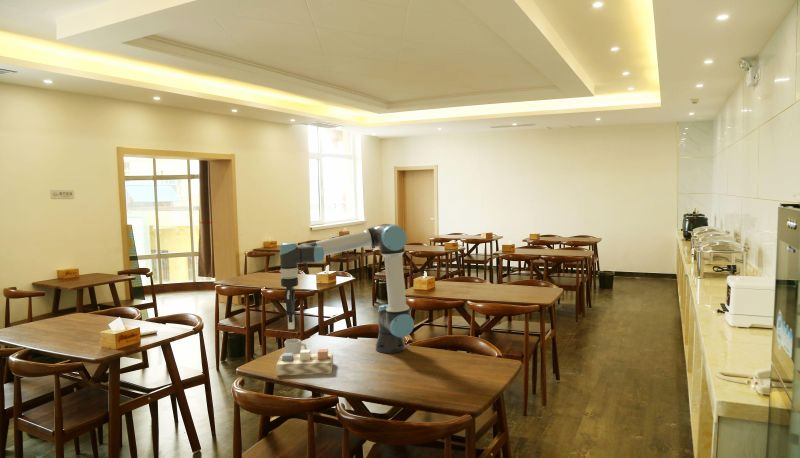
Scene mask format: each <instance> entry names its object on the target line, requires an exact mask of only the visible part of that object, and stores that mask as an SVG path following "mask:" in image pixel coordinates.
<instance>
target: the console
mask: <svg viewBox="0 0 800 458" xmlns="http://www.w3.org/2000/svg"><path fill="white" fill-rule="evenodd" d="M282 355H283V354H280V356H279V358H278V360H277V362H276V365H275V366H276V367H275V369H276V371H275V372H276V376H277V377H278V376H294V375H295V376H297V375H299V376H300V375H303V376H305V375H325V374H326V375H328V374H332V373H333V366H334V353H333V352H328V359H327V360H318V353H311V360H300V354H293V361H282Z"/></svg>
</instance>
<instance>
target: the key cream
mask: <svg viewBox="0 0 800 458" xmlns="http://www.w3.org/2000/svg"><path fill="white" fill-rule="evenodd" d="M311 354H312V353H311V349H310V348H309V349H306V350H304V349H301V351H300V360H311Z"/></svg>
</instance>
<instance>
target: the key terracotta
mask: <svg viewBox="0 0 800 458" xmlns="http://www.w3.org/2000/svg"><path fill="white" fill-rule="evenodd" d="M328 353H329V348H319V349H318V351H317V354H318V360H327V359H328Z"/></svg>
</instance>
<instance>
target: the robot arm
mask: <svg viewBox="0 0 800 458" xmlns="http://www.w3.org/2000/svg"><path fill="white" fill-rule="evenodd" d="M407 238H408V237H407V234H406V231H405V230H404V229H403V228H402V227H401V226H399V225H396V224H389V223H382V224H379V225H376V226H372V227H369V228H368V227H367V228H365V230H364V231H360V232H359V231H358V232H354V233H349V234H346V235H342V236H337V237H331V238H327V239H323V240H317V241H313V242H309V243H307V242H304V243H301V244H299V246H298V245H297V243H296V242H284V243H281V244H280V245H279V262H280V270H279V273H280V277H281V278H280V285H281V287H283V288H286V289H285V291H284V298H285V308H286V313H285V316H287V330H295V326H296V325H295V314H296V313H297V312H296V311H295V303H296V302H295V297H296V296H295V293H296V289H294V287H298V286H299V277H298V276H299V270H298V269H299V268H298V267H299V266H298V264H312V263H313V264H314V263H315V264H316V263H322V262H324V260H325V256H328V255H333V254H338V253H343V252H348V251H352V250H356V249H361V248H365V247H368V248H369V249H370V248H376V247H377V248H378V247H380V248H379V250H380V255H381V256H382V257H383V259H384V268H385V269H384V272H385V281H386V282H385V283H386V292H387V302H388V304H381V305H379V306H378V311H377V313H378V336H377V340H376V343H375V350H376V351H377V352H378V353H383V354H396V353H400V352H403V351H405V350H406V343H405V341H404V338H405V337H407V336H409V335H410V334H411V333H412V332H413V329H414V328H415V327H414V325H415V322H414V319H413V317H412V316H411V310H410V306H409V305H408V304H407V300H406V299H407V298H406V286H405V277H404V276H405V275H404V265H403V263H404V262H403V255H404V253H405V252H406V251H405V246H406V243H407V242H408V241H407V240H408V239H407Z"/></svg>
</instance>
